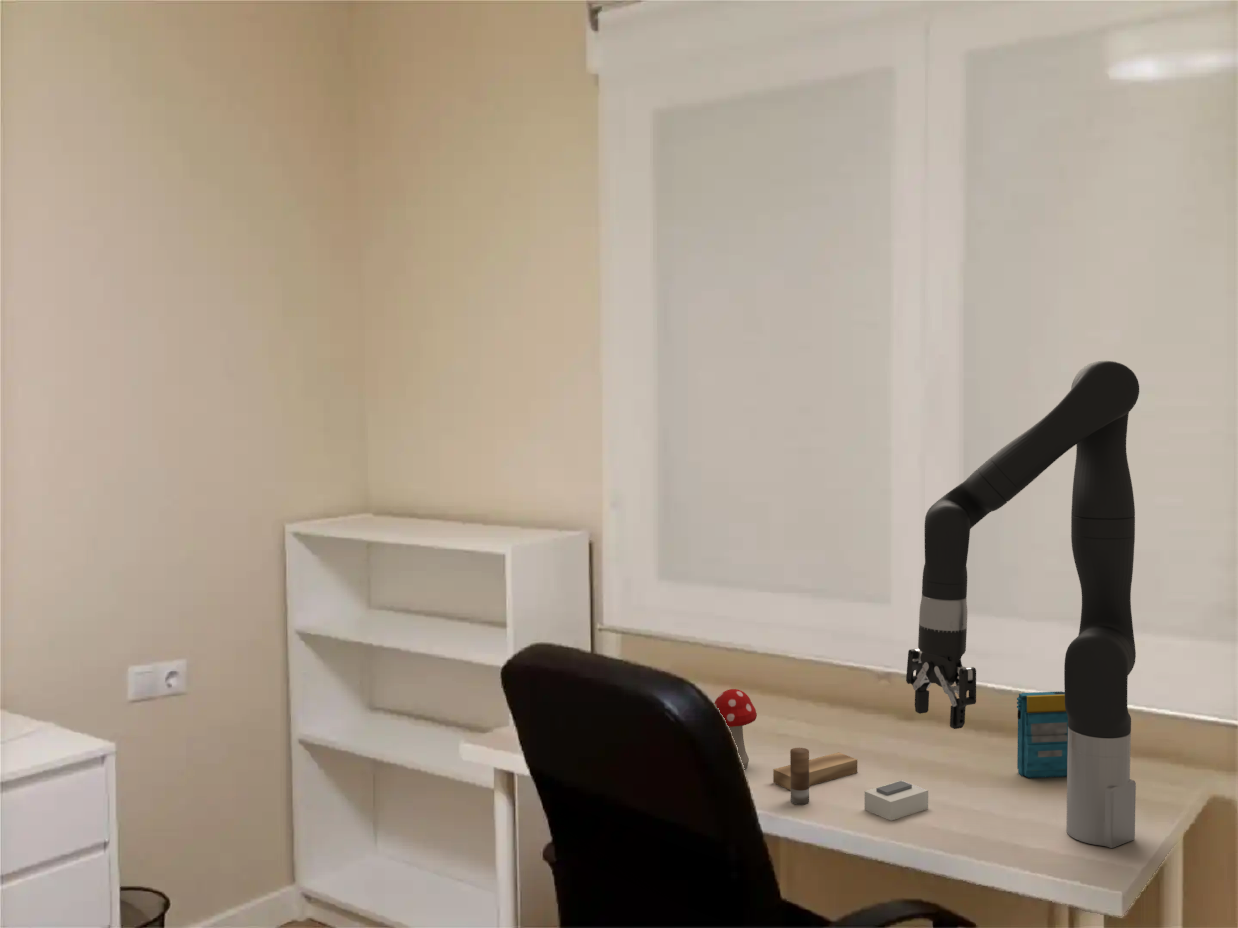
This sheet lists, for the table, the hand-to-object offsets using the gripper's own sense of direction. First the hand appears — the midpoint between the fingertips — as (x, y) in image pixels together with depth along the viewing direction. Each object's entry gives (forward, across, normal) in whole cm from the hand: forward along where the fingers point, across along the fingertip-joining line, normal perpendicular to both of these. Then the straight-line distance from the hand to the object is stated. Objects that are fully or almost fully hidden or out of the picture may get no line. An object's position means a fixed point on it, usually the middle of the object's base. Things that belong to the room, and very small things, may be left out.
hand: (938, 720), depth 188 cm
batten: (+18, +25, +6) cm, 32 cm away
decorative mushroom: (+19, +37, +17) cm, 45 cm away
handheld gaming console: (+17, +7, -32) cm, 37 cm away
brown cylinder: (+18, +17, +15) cm, 29 cm away
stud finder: (+18, +7, +2) cm, 19 cm away
